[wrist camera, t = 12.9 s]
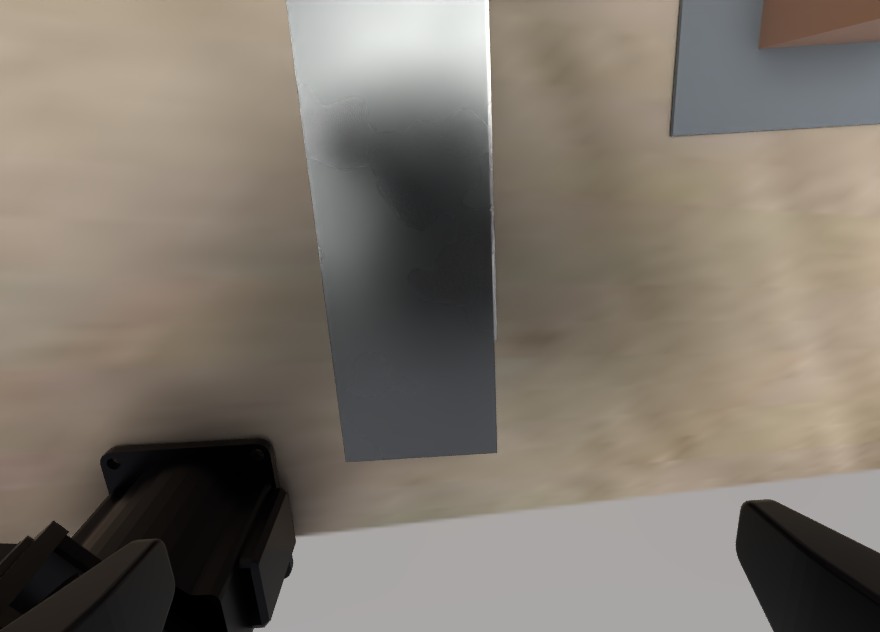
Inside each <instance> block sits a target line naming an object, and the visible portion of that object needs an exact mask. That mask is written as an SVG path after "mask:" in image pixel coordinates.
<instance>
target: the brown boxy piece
mask: <svg viewBox="0 0 880 632" xmlns="http://www.w3.org/2000/svg"><path fill="white" fill-rule="evenodd" d="M873 41H880V0H764V2H763V11H762V20H761V29H760V38H759V47H758V49H766V48H781V47H797V46H812V45H827V44H842V43H858V42H873Z"/></svg>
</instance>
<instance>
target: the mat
mask: <svg viewBox="0 0 880 632" xmlns="http://www.w3.org/2000/svg"><path fill="white" fill-rule="evenodd" d="M763 2H764V0H680V10H679V23H678V37H677V50H676V64H675V77H674V91H673V104H672V118H671V131H670V136H682V135H698V134H715V133H732V132H748V131H765V130H782V129H798V128H815V127H832V126H848V125H865V124H880V41H873V42H858V43H842V44H827V45H812V46H797V47H781V48H766V49H758V47H759V38H760V29H761V20H762V11H763Z"/></svg>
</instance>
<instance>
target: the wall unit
mask: <svg viewBox="0 0 880 632" xmlns="http://www.w3.org/2000/svg"><path fill="white" fill-rule="evenodd" d="M286 5H287V13H288V20H289V28H290V36H291V44H292V51H293V59H294V67H295V74H296V82H297V90H298V97H299V105H300V113H301V120H302V128H303V136H304V144H305V151H306V159H307V167H308V174H309V182H310V190H311V197H312V205H313V213H314V220H315V228H316V236H317V244H318V251H319V259H320V267H321V274H322V282H323V290H324V297H325V305H326V313H327V321H328V328H329V336H330V344H331V351H332V359H333V367H334V374H335V382H336V390H337V397H338V405H339V413H340V421H341V428H342V436H343V444H344V451H345V459H346V462H356V461H372V460H388V459H405V458H421V457H437V456H454V455H470V454H487V453H497V427H496V390H495V352H494V341H497V313H496V273H495V233H494V193H493V153H492V113H491V72H490V32H489V0H286Z"/></svg>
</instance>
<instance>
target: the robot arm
mask: <svg viewBox="0 0 880 632" xmlns="http://www.w3.org/2000/svg"><path fill="white" fill-rule="evenodd" d="M256 449H257V450H260V451H262V452H263V454H264V455H258V454H256V453H255V452H254V450H256ZM113 458H114V459H117V460H118V461H119V462H120V464H119V463H116V462H114V460H113ZM100 465H101V468H102V471H103V475H104V478H105V482H106V485H107V488H108V492H109V496H108V497H107V498H106V499H105V500H104V501H103V503H102V504H101V505H100V506H99V507H98V508H97V509H96V511H95V512H94V513H93V514H92V515H91V516H90V517H89V518H88V520H87V521H86V522H85V523H84V524H83V525H82V526H81V528H80V529H79V530H78V531H77V532H76V533H75V534H74V536H73V537H72V538H70V537H69V536H67V534H68V532H69V531H67V530H66V529H65V528H63V527H62V526H60V525H59V524H58V523H56V522H55V521H52V522H51V523H50V524H49V525H48V526H47V527H46V528H45V529H44V530H43V531H42V532H41V533H40V534H38V535H37V536H36V537H35V538H34V539H33V538H31V537H30V536H27V537H26V538H25V539H24V540H22V541H20V542H19V543H18V544H1V543H0V632H253V629H254V628H262V627H265V626H266V625H267V624H268V622H269V621H270V620H271V617H272V614H273V611H274V608H275V605H276V602H277V598H278V596H279V593H280V589H281V586H282V583H283V580H284V579H285V578H287V577H288V576H289V575H290V573H291V570H292V567H293V558H292V552H293V549H294V546H295V543H296V539H295V533H294V527H293V521H292V516H291V510H290V504H289V498H288V493H287V492H286V490H285V489H284V488H282V487H280V485H279V479H278V474H277V468H276V462H275V457H274V451H273V447H272V445H271V444H270V443H269V442H268V441H267V440H265V439H260V438H255V439H238V440H222V441H205V442H189V443H173V444H156V445H140V446H123V447H114V448H111V449H110V450H108V451H107V452H106V453H105V454H104V455H103V456H102V458H101V460H100ZM736 552H737V556H738V559H739V561H740V563H741V566H742V568H743V570H744V572H745V574H746V575H747V578H748V580H749V582H750V584H751V586H752V588H753V590H754V592H755V594H756V596H757V598H758V600H759V602H760V605H761V606H762V609H763V611H764V613H765V615H766V617H767V619H768V621H769V623H770V625H771V627H772V629H773V631H774V632H880V553H878V552H876V551H874V550H872V549H870V548H868V547H866V546H864V545H862V544H860V543H858V542H856V541H854V540H852V539H850V538H848V537H846V536H844V535H842V534H840V533H838V532H836V531H834V530H832V529H830V528H828V527H826V526H824V525H822V524H820V523H818V522H816V521H814V520H812V519H810V518H808V517H806V516H804V515H802V514H800V513H798V512H796V511H794V510H792V509H790V508H788V507H786V506H784V505H782V504H780V503H778V502H776V501H773V500H769V499H764V500H750V501H746V502H744V503H743V504H742V506H741V510H740V516H739V523H738V531H737V538H736Z"/></svg>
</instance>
